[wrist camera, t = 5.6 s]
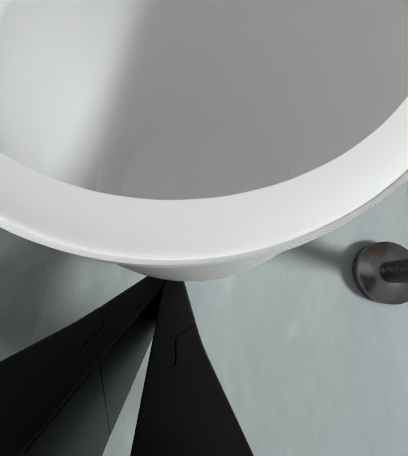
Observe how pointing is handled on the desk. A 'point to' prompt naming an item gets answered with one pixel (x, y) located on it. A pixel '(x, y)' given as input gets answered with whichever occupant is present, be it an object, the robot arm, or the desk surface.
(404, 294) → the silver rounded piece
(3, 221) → the jar
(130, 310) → the robot arm
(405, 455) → the desk surface
